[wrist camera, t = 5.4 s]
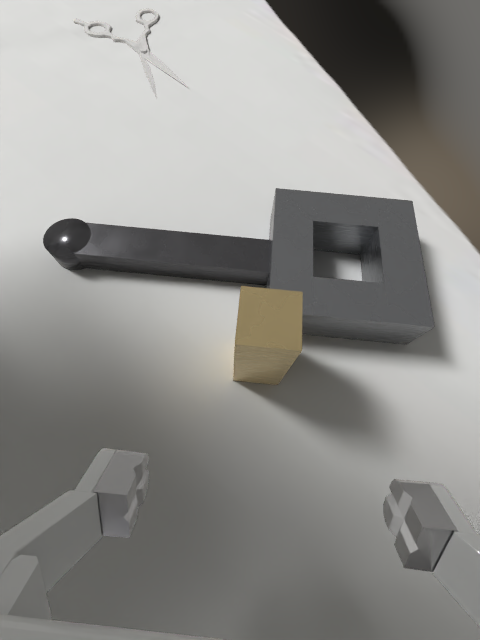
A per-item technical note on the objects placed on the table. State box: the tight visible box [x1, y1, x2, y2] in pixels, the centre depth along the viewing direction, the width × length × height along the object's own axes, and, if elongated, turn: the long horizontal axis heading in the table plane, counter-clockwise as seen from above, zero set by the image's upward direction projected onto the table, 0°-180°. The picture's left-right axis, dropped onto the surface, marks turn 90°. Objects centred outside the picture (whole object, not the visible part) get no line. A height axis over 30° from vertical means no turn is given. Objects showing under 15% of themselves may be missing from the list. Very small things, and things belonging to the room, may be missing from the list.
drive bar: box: [233, 286, 303, 385], centre depth 19 cm, size 3×3×8 cm
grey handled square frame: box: [43, 188, 434, 344], centre depth 24 cm, size 11×29×4 cm, turn 85°
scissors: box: [73, 9, 186, 99], centre depth 38 cm, size 11×1×20 cm
